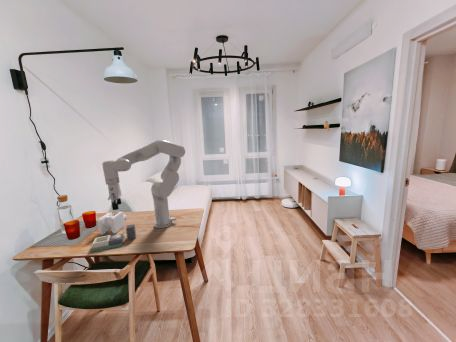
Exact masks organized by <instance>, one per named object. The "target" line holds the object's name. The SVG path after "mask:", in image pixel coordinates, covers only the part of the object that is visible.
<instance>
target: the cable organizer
mask: <svg viewBox="0 0 456 342" xmlns="http://www.w3.org/2000/svg"><path fill="white" fill-rule="evenodd" d="M123 214H124V212H123V211H119V213H118V214H116V215H115V216H113V213H112V212H107V213H105V214H104V215H103V216H100V218H98V219H97V221H96V222H97V229H98V233H99V235H105V234H106V233H107V232H108V233H109V230H110V231H111V232H112V234H117V233H119V231H120V230H122V229H123V228H124V227H125V225H126V223H125V222H126V221H125V219H124V215H123Z"/></svg>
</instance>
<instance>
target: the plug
mask: <svg viewBox="0 0 456 342" xmlns="http://www.w3.org/2000/svg"><path fill="white" fill-rule="evenodd" d="M125 233H126V239H127V240H128V241H130V240H136V238H137V233H136V226H135V224H134V223H133V224H129V225H126V228H125Z"/></svg>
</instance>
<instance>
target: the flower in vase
mask: <svg viewBox="0 0 456 342" xmlns="http://www.w3.org/2000/svg"><path fill="white" fill-rule="evenodd" d="M114 199H115V198H114ZM107 200H108V201H110V196H109V195H108V198H107ZM119 205H120V204H119ZM119 205H118V207H119ZM119 209H120V208H119ZM119 209H118V210H115V212H114V214H112V216H115V215H116V214H118V213H119V212H120V210H119ZM123 215H124V220H126V218H127V215H126V214H125V213H123Z"/></svg>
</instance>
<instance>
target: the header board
mask: <svg viewBox="0 0 456 342" xmlns="http://www.w3.org/2000/svg"><path fill="white" fill-rule="evenodd" d="M124 240H125V235H124V233H119V234H114V235H111V234H110V235H109V234H108V235H103V236H98V237H95V238H94V240H93V242H92V248H91V250H90V252H91V253H95V251H96V252H100V251H99V250H101V251H105V250H104V249H106V250H110V248H111V249H116V248H120V247H123V244H124V243H123V242H124Z"/></svg>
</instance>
